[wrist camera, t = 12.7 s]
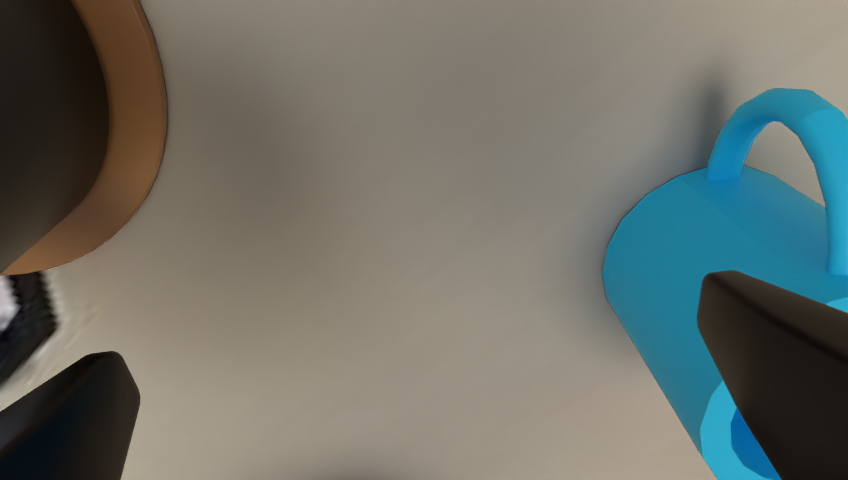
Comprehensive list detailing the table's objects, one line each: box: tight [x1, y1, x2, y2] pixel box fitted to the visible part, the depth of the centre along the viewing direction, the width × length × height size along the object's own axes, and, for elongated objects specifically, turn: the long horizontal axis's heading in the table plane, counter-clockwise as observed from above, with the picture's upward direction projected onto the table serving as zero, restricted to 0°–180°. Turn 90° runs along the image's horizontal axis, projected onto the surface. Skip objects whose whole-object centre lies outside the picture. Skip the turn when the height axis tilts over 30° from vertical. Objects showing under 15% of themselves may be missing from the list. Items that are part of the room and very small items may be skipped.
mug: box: [602, 88, 848, 480], centre depth 18 cm, size 12×8×8 cm
